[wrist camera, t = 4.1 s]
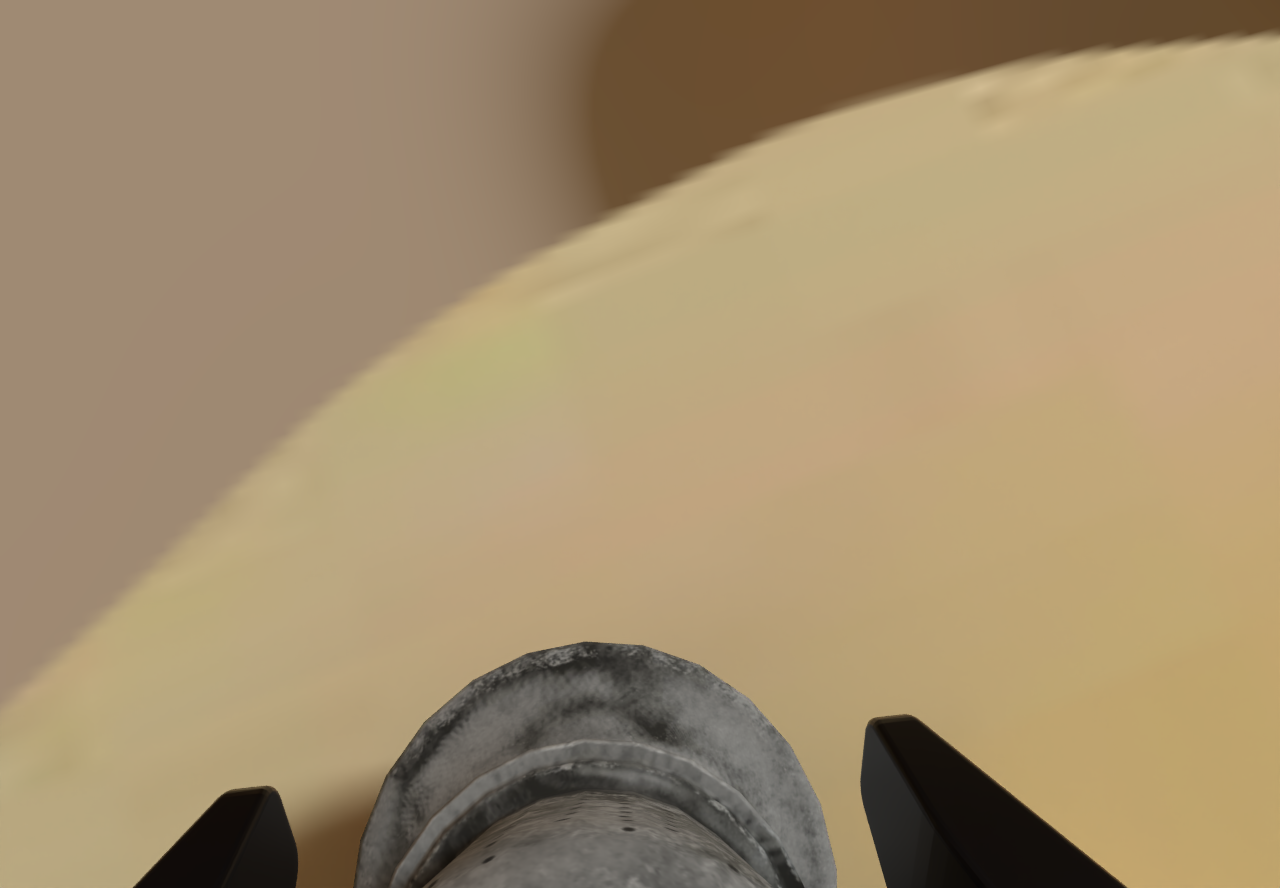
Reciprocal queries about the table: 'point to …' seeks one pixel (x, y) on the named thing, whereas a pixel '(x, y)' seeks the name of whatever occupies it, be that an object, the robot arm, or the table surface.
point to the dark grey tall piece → (597, 784)
